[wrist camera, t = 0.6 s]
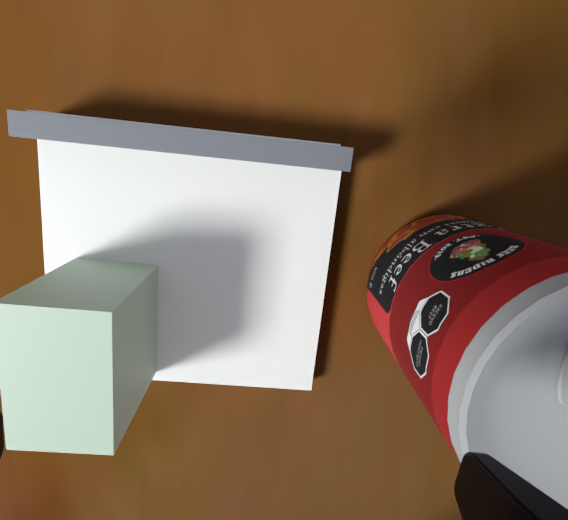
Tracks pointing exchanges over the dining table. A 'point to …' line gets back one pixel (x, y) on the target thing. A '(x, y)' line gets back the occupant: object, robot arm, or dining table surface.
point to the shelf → (199, 235)
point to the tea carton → (77, 355)
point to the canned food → (482, 339)
